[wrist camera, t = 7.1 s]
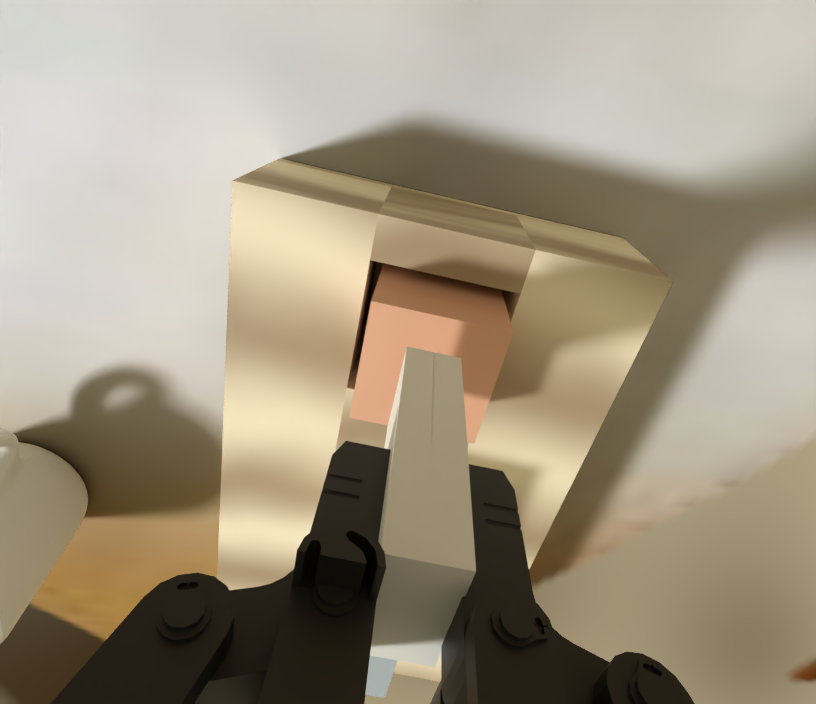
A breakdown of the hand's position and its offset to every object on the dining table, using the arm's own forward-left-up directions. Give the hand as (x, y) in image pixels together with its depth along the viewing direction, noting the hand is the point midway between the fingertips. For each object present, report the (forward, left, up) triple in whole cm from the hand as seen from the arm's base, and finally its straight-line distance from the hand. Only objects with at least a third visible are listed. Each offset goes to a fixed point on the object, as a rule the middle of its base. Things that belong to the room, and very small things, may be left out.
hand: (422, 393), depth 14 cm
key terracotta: (0, 0, -6) cm, 6 cm away
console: (+8, 0, -9) cm, 12 cm away
